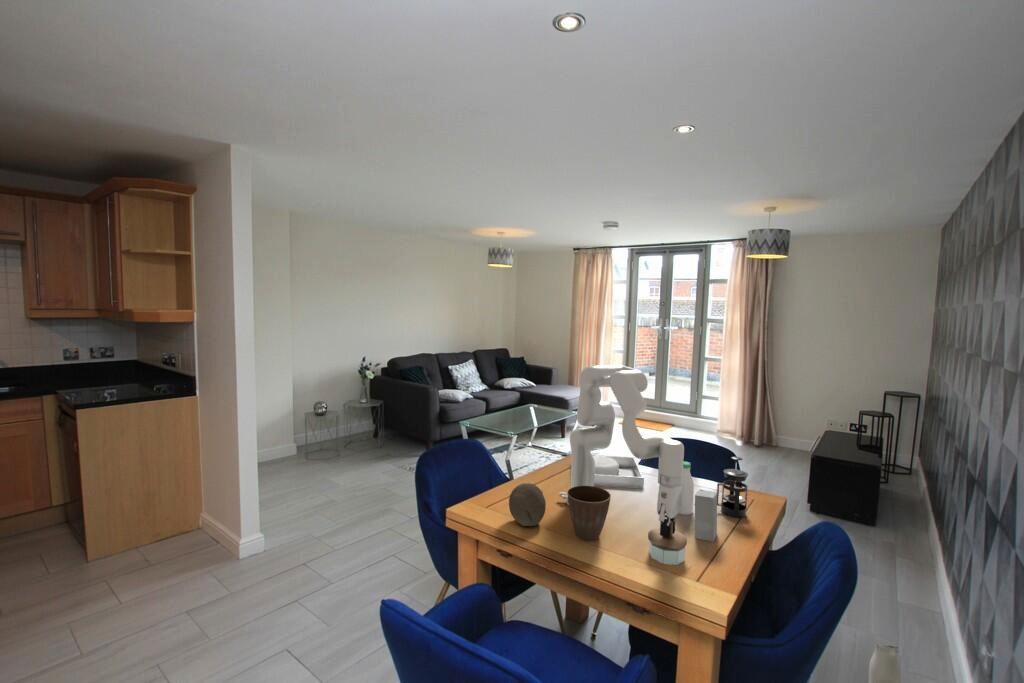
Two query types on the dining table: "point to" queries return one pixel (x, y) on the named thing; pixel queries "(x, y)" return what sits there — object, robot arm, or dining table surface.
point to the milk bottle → (687, 490)
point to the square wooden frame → (621, 480)
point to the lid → (667, 539)
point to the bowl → (667, 554)
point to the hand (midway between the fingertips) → (667, 533)
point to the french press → (733, 493)
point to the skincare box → (706, 515)
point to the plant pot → (588, 510)
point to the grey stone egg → (527, 504)
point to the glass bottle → (884, 665)
